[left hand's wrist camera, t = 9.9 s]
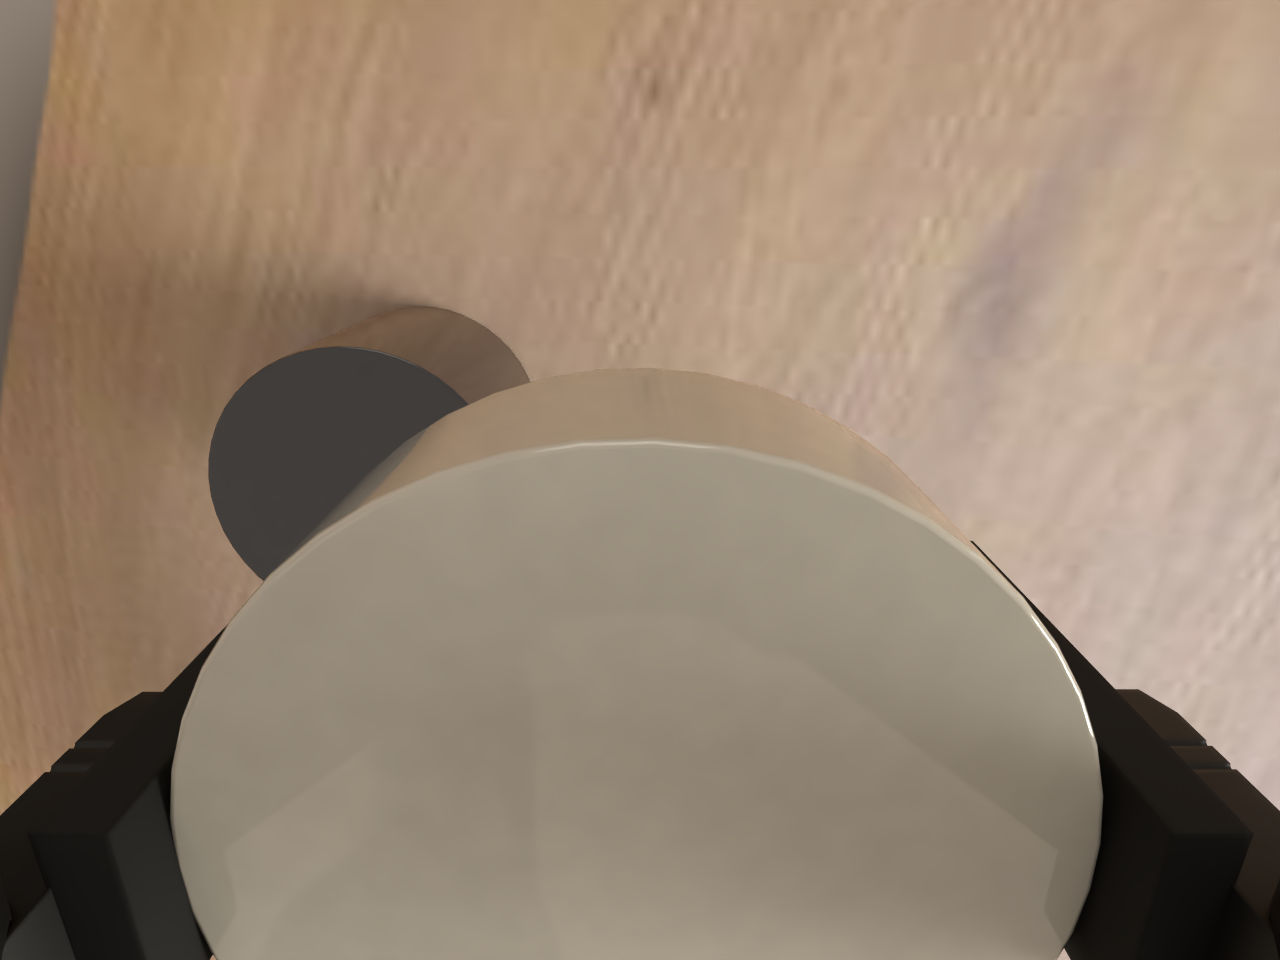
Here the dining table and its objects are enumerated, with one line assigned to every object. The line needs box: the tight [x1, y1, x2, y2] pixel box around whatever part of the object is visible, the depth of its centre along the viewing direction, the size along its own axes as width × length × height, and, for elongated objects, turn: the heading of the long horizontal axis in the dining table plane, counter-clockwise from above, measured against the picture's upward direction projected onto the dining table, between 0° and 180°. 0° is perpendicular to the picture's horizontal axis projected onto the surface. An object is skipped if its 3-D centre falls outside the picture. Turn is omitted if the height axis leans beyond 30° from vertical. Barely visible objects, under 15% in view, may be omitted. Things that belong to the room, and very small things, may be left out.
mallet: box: [209, 307, 530, 581], centre depth 30 cm, size 24×9×9 cm, turn 1°
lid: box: [170, 368, 1103, 960], centre depth 10 cm, size 10×10×3 cm
